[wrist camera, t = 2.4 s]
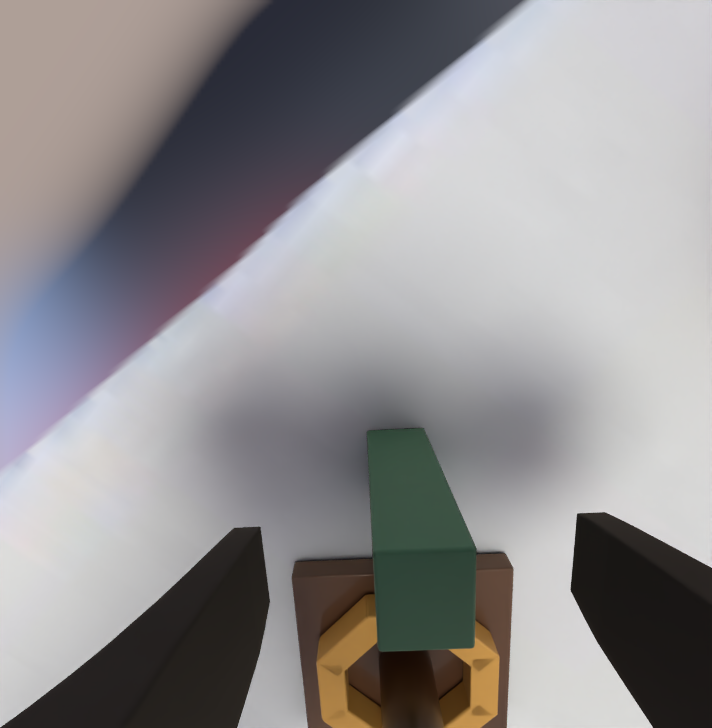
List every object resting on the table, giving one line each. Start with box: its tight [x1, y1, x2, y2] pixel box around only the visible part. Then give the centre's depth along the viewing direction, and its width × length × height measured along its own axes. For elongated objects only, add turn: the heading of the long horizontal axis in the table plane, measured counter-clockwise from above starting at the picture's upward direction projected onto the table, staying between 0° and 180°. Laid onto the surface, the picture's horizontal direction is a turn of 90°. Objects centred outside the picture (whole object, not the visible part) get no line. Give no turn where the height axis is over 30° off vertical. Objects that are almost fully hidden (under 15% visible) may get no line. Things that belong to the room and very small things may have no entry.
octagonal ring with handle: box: [316, 428, 499, 728], centre depth 11 cm, size 12×6×6 cm, turn 3°
